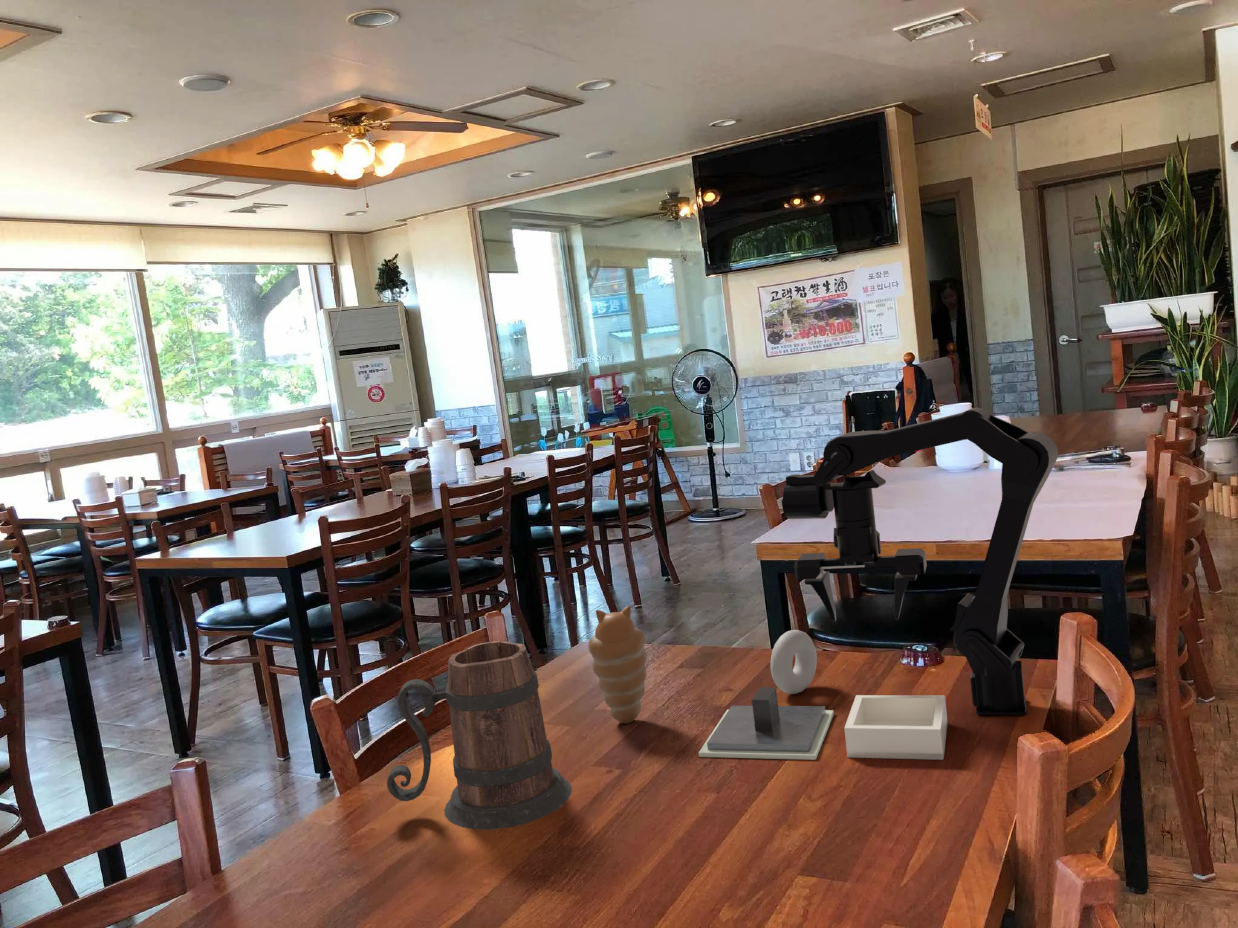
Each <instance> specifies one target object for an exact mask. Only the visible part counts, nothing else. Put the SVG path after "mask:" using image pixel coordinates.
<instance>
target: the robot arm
mask: <svg viewBox="0 0 1238 928" xmlns="http://www.w3.org/2000/svg"><path fill="white" fill-rule="evenodd" d="M965 440H968V441H969V442H971V443H973V444H974V445H975V446H977V447H978V448H979V449H981V450H982V451H983V452H984V453H986V454H987V455H988V456H989V457H991V458H993V459H994V460H996V461H997V462H998V463H1000V464H1002V465H1001V474H1000V476H1001V477H1000V480H1001V481H1000V482H1001V485H1000V486H1001V502H1000V505H999V508H998V511H997V516H996V519H995V523H994V526H993V530H992V534H991V537H990V541H989V545H988V548H987V551H986V555H985V558H984V559H985V560H984V563H983V567H982V569H981V573H980V577H979V581H978V584H977V587H976V591H975V593H974V595H973V594H972V593H969V592H967V593H966V595H965V596H964V597H963V598H962V599H961V600H960V601H959V602H958V603H957V605H956V611H955V620H954V622H953V624H952V626H951V627H950V628H949V631H950V632H954V633H953V638H952V639H953V645H954V646H955V647H956V649H957V650H958V652H959V653H960V654H961V655H962V656H963V657H965V658H966V660H967V662H968V665H969V667H970V669H971V670H972V672H970V679H969V680H970V689H971V690H970V691H971V701H972V706H974V707H976V708H975V709H976V714H977V716H978V715H981V716H1026V715H1027V713H1028V712H1027V698H1026V696H1025V688H1024V677H1023V666H1022V664H1023V663H1022V661H1021V660H1019V658H1021V656H1022V654H1023V650H1024V648H1025V647H1024V646H1025V643H1024V641H1022V640H1021V639H1020V638H1019V637H1018V636H1017V635H1015V634H1014V633H1013V632H1012V631H1011V630H1009V629H1008V626H1007V625H1008V617H1009V615H1008V614H1009V608H1008V593H1009V591H1010V586H1011V582H1012V579H1013V575H1014V572H1015V568H1016V566H1017V562H1018V558H1019V554H1020V552H1021V549H1022V544H1023V541H1024V537H1025V534H1026V531H1027V528H1028V524H1029V521H1030V520H1029V519H1030V516H1031V514H1032V509H1033V506H1034V503H1035V502H1036V500H1037V498H1038V496H1039V494H1040V493H1041V490H1042V489H1043V487H1044V485H1045V483H1046V482H1047V480H1048V479H1049V476H1050V474H1051V472H1052V469H1053V468H1054V466H1055V464H1056V463H1057V460H1058V455H1059V450H1058V447H1057V445H1056V443H1055V442H1054V440H1053V439H1052V438H1050V437H1049V436H1048V435H1046V434H1045V433H1042V432H1036V431H1035V432H1034V431H1033V432H1029V431H1027V430H1025V429H1024V428H1022V427H1020V426H1018V425H1015V424H1013V423H1011V422H1008V421H1007V420H1004V419H1002V418H999V417H997V416H995V415H993V414H992V413H989V412H988V411H987V410H986V409H984V408H980V407H973V408H970V409H967V410H965V411H963V412H960V413H955V414H950V415H947V416H941V417H939V418H934V419H930V420H927V421H922V422H918V423H914V424H910V425H905V426H902V427H898V428H893V429H888V430H886V429H885V430H861V431H859V430H858V431H851V432H847V433H844V434H842V435H839V436H835V437H834V438H831V439H829V441H827V443H826V445H825V447H824V449H823V460H822V462H821V463H820V464H819V467H818V468H817V470H816V472H815V474H806V475H805V474H799V473H798V474H796V473H795V474H790V475H787V476H786V477H785V486H784V488H783V492H782V493H783V494H782V498H781V507H782V510H783V514H784V516H785V518H787V519H788V520H811V519H812V520H813V519H815V520H816V519H817V520H818V519H821V520H823V519H826V518H827V517H828V516H829V513H831V512H833V510H834V519H835V520H834V521H835V527H834V528H833V547H834V548H835V549H837V550H838V556H839V558H836V557H835V558H827V557H826V554H825V552H816V553H814V552H812V553H802V554H801V555H800V556H799V558H798V559H797V560H796V561H795V563H794V564H793V567H794V568H793V570H794V578H795V580H798V581H799V580H804V581H803V582H804V585H807V586H808V585H809V586H811V587H812V588H813V590H814V592H815V593H816V594H817V596H818V597H819V599H820V600H821V601H822V603H823V605H824V607H825V609H826V611H827V613H828V615H829V616H830V620H831V621H832V622H836V621H837V611H836V605H835V600H834V595H833V590H832V587H831V586H832V584H831V578H830V572H838V571H840V572H842V571H845V572H846V571H863V570H864V571H865V570H868V571H869V570H887V569H889V570H891V569H894V570H895V572H896V573H895V576H894V596H893V597H894V598H893V599H894V600H893V601H894V603H893V604H894V605H893V606H894V608H893V611H894V618H895V620H896V621H899V618H900V614H901V609H902V604H903V601H904V600H903V599H904V596H905V593H906V589H907V588H908V587H907V586H908V584H909V582H912V581H913V582H914V581H916V580H917V578H918V575H919V576H921V575H924V574H926V570H927V566H928V564H927V554H926V551H925V550H924V549H923V548H921V547H917V548H916V547H915V548H897V550H896V553H895V555H883V556H881V554H882V546H881V534H880V532H879V531H878V530H877V525H876V515H875V507H874V506H875V505H874V497H873V489H878V488H881V487H882V486H883V485H884V486H885V484H886V483H887V481H886V479H885V478H883V477H881V476H880V475H878V473H876V471H875V470H874V469H871V470H869V471H866V473H865V475H853V476H849V475H851V474H854V473H855V472H859V471H860V470H863V469H865V468H867V467H870V466H872V465H874V464H876V463H879V462H881V461H883V460H886V459H888V458H890V457H896V456H900V455H904V454H909V453H913V452H918V451H920V450H927V449H931V448H934V447H939V446H943V445H947V444H952V443H956V442H960V441H965ZM843 476H846V477H845V478H844V480H843V482H832V481H834V480H836V479H838V478H841V477H843ZM852 563H853V564H852Z"/></svg>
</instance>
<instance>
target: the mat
mask: <svg viewBox="0 0 1238 928" xmlns="http://www.w3.org/2000/svg"><path fill="white" fill-rule="evenodd" d="M729 709H730V708H729ZM729 709H726V711H725V712H724V714H722V717H721V718H720V720H719V721H718V723H717V724H716V726H715V728H714V729H713V730H712V732H711V733H710V734H709V736H708V738H707V739H706V740H705V743H704V744H703V745H702V747H701V749H700V750H699V751H698V757H699V758H726V759H727V758H729V759H731V758H732V759H736V758H738V759H767V760H771V759H772V760H775V759H776V760H803V761H804V760H808V761H809V760H811V761H816V760H817V758H818V756H819V755H818V754H819V752H820V750H821V747H822V745H823V742H824V740H825V738H826V735H827V732H828V730H829V727H830V724H831V722H832V720H833V717H834V714H835V713H834V710H833V709H831V710H830V709H825V711H826V713H825V716H824V718H823V721H822V723H821V725H820V728H819V730H818V733H817V735H816V737H815V740H814V742H813V745H812V747H811V750H810V752H774V751H730V750H708V747H707V742H708V741H709V739H710V738H711V736H712V735H713V733H714V732H715V730H716V729H717V727H718V726H719V724H720V723H721V721H722V720H723V718H724V717H725V715H726V714H727V712H728V711H729Z"/></svg>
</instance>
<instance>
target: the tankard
mask: <svg viewBox="0 0 1238 928" xmlns="http://www.w3.org/2000/svg"><path fill="white" fill-rule="evenodd" d="M412 690H417V691H419V692H421V693H422V702H423V706H424V709H423V711H422V714H421V715H422V716H423V717H424V718H427V717H429V716H430V715H431V714H432V713H433V711H434V709H435V705H436V704H437V703H436V702H438V701H440V700H446V704H447V705H448V706H449V707H448V708H449V717H450V725H451V735H452V743H453V744H452V745H453V754H454V756H453V759H452V763H453V764H452V765H453V775H454V777H455V779H456V786H455V788H453V790H452V793H451V795H450V799H448V801H447V803H446V804H445V807H444V810H443V812H444V816H445V818H446V820H447V821H449V822H450V823H451V824H453V825H454V826H455V825H456V826H458V827H461V828H463V829H464V828H465V829H469V830H477V831H478V830H479V831H481V830H482V831H487V830H491V831H492V830H500V829H508V828H513V827H518V826H521V825H525V824H526V825H527V824H529V823H532V822H534V821H538V820H539V819H542V818H544V817H546V816H548V815H550V814H552V813H554V812H556V811H558V809H560V808H561V807H563V806H564V804H565V803H567V801H568V800H569V799H570V797H571V795H572V791H573V790H572V789H573V786H572V784H571V783H570V781H568V779H567V778H565V777H563V776H562V774H561V772H560V770H558V769H557V768H555V767H553V763H552V759H553V753H552V746H551V743H550V740H549V739H548V738H547V733H546V728H545V721H544V716H543V711H542V705H541V700H540V694H539V679H538V674H537V672H536V671H535V670H534V668H533V666H532V662H531V659H530V656H529V653H528V651H527V647H526V645H525V644H522V643H516V642H511V641H503V640H494V641H486V642H481V643H477V644H474V645H472V646H470V647H467V648H466V649H463V650H461V651H459V652H457V653H455V654H451V656H450V657H449V658H448V667H447V685H446V688H445V690H443V691H436V688H434V687H433V686H432V685H431V684H430V683H429V682H427V681H425V680H423V679H419V678H417V679H410V680H408V681H406V682H405V683H404V684H403V685H402V686H401V689H400V690H399V692H398V695H397V697H398V698H397V704H398V708H399V711H400V713H401V715H402V716H403V719H405V721H406V723H407V724H408V726H410V727H411V729H412V730H413V731H414V732H415V734H416V736H417V738H418V740H419V743H420V746H421V750H422V751H421V752H422V755H423V756H422V757H423V759H422V760H423V768H422V769H423V770H422V776H421V778H420V780H419V782H418V783H417V785H415V786H413V787H412V788H409V789H406V787H409V784H410V782H411V779H412V772H411V770H410V768H409V767H408V766H407V765H403V764H400V765H399V764H398V765H396V766H394V767H393V768H391V769H390V772H388V773H389V774H388V777H387V779H386V782H387V783H386V787H387V789H388V793H390V794H391V796H393V798H395V799H396V800H398V801H401V802H409V801H413V800H415V799H417V798H418V797H420V796H421V794H422V793H423V792H424V791H425V789H426V787H427V784H428V781H429V776H430V771H431V764H432V763H431V762H432V755H431V754H432V752H431V751H432V749H431V746H430V744H431V743H430V739H429V736H428V734H427V730H426V729H425V727H424V726H423V724H422V722H421V720H420V719H419V718H418V716H417V715H416V714H415V713H414V712H413V710H412V709H411V708H410V706H409V703H408V701H407V699H406V698H407V697H406V694H407V693H408V692H410V691H412ZM398 776H402V777H404V778H405V779H406V780H401V781H400V786H399V785H398V784H397V782H396V780H395V778H396V777H398ZM404 788H405V789H404Z"/></svg>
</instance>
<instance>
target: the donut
mask: <svg viewBox="0 0 1238 928" xmlns="http://www.w3.org/2000/svg"><path fill="white" fill-rule="evenodd" d="M817 655H818V654H817V650H816V646H815V644H814V641H813V640H812V638H811V637H810V636H809V635H808V634H807V632H804V631H801V630H798V629H792V630H788V631H785V632H784V633H782V635H780V636H779V638H778V639H777V640H776V642H775V643H774V645H773V649H772V651H771V656H770V673H771V678H772V680H773V682H774V684H775V687H776V686H777V687H776V688H778V689H779V690H780V691H781V692H783V693H786V694H790V695H796V694H799V693H802V692H803V691H804V690H805V689H807V688H808V687H809V685H810V684H811V683H812V680H813V679H814V676H815V673H816V669H817V665H818V661H817V660H818V659H817V657H818V656H817ZM794 657H795V661H793V660H794ZM793 662H795V663H794V666H793Z"/></svg>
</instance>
